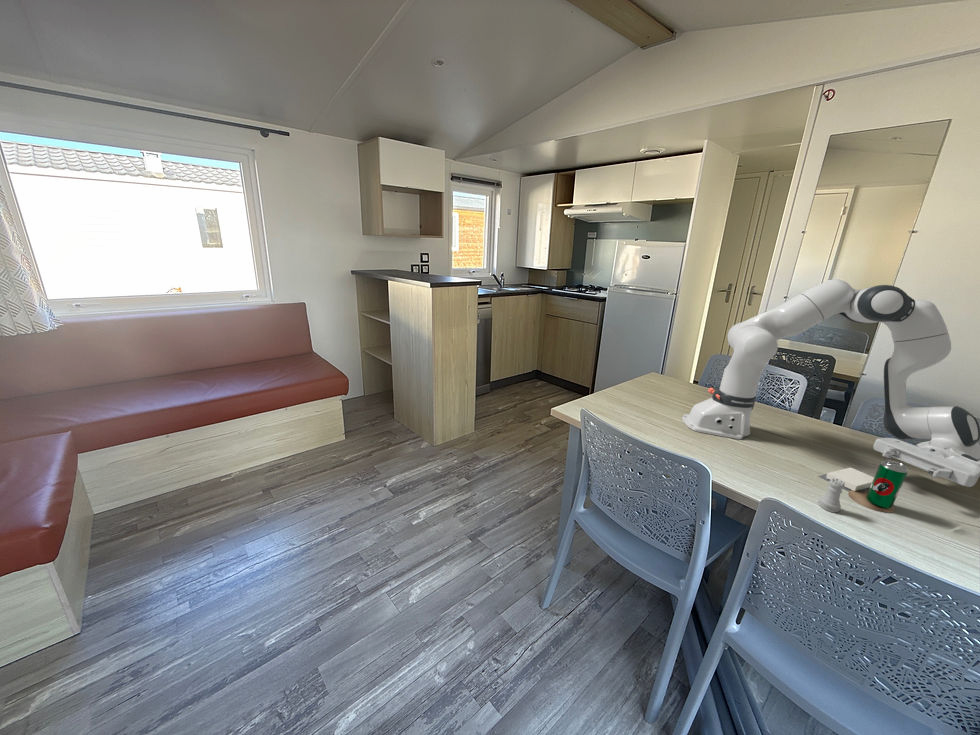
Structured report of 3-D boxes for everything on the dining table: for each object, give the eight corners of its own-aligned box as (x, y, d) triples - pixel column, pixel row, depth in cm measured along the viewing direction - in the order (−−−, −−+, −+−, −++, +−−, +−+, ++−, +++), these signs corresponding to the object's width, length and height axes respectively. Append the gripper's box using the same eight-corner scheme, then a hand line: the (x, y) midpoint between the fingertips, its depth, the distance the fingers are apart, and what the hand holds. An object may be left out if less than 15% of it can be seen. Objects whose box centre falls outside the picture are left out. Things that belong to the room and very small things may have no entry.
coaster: (863, 511, 98) (864, 508, 98) (839, 490, 107) (840, 488, 106) (903, 516, 97) (904, 514, 96) (875, 495, 105) (877, 492, 105)
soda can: (895, 512, 97) (914, 471, 93) (870, 506, 99) (887, 466, 95) (885, 500, 101) (903, 461, 98) (861, 495, 103) (877, 456, 100)
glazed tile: (850, 467, 114) (827, 472, 111) (880, 479, 108) (856, 486, 104) (848, 472, 115) (825, 478, 111) (878, 485, 109) (854, 491, 105)
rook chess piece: (812, 502, 101) (822, 476, 98) (827, 501, 101) (837, 476, 99) (828, 513, 97) (838, 486, 94) (844, 513, 97) (854, 486, 95)
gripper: (892, 430, 116) (865, 435, 112) (994, 466, 98) (966, 474, 93) (885, 448, 118) (858, 454, 114) (983, 487, 100) (955, 495, 95)
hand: (908, 463), depth 103 cm, fingers open, 8 cm apart
